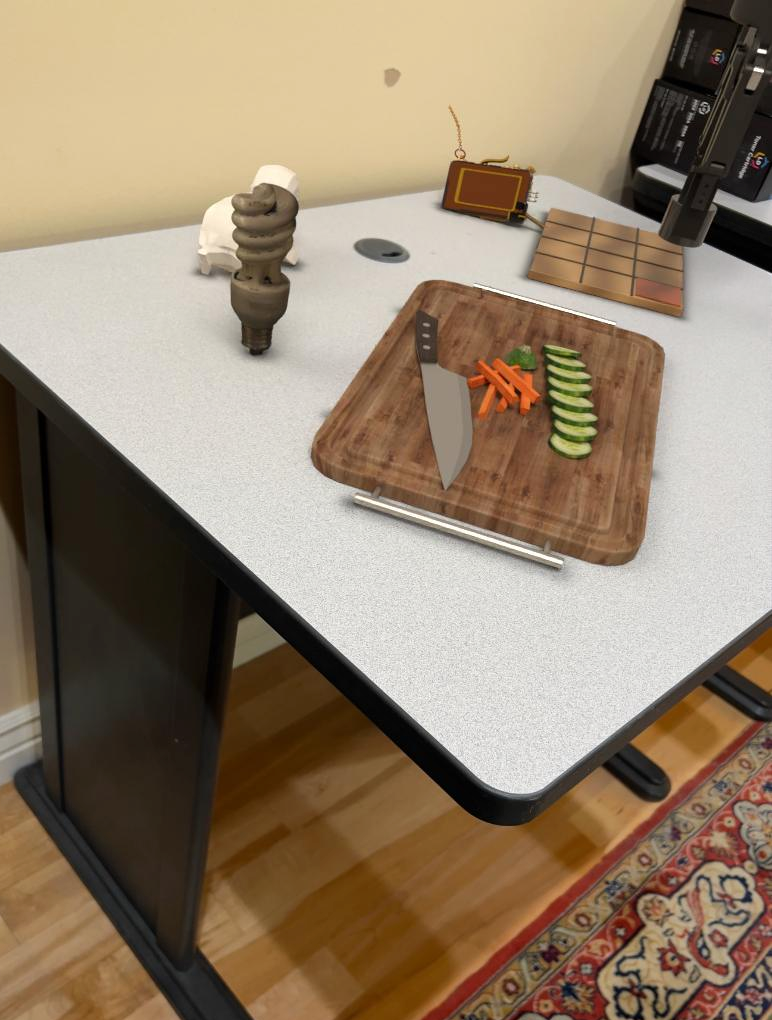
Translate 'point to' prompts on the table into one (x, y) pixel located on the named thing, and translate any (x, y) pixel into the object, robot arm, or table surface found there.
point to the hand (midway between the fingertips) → (683, 227)
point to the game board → (610, 262)
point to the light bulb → (261, 261)
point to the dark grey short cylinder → (671, 218)
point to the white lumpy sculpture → (219, 226)
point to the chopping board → (504, 423)
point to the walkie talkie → (489, 189)
